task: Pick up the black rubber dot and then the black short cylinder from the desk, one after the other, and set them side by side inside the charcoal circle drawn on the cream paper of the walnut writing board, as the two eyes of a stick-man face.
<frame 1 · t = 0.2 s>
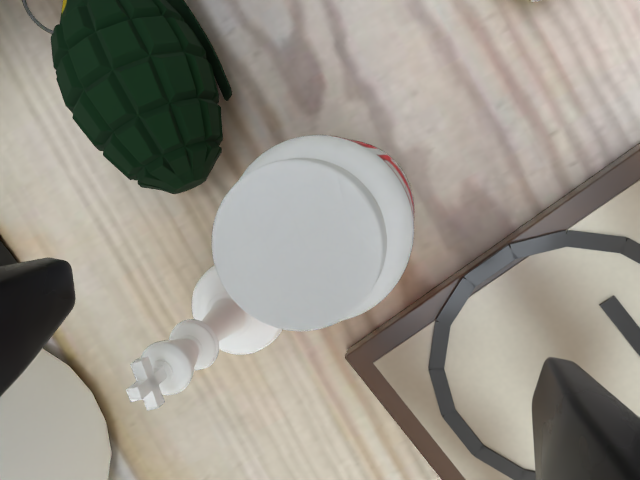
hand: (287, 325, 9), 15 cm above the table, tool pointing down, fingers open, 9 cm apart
grenade: (196, 188, 22), point 3 cm above the table
can 2: (24, 432, 30), on the table
pill bottle: (349, 206, 24), on the table
board: (562, 356, 23), on the table
chess piece: (242, 304, 26), on the table
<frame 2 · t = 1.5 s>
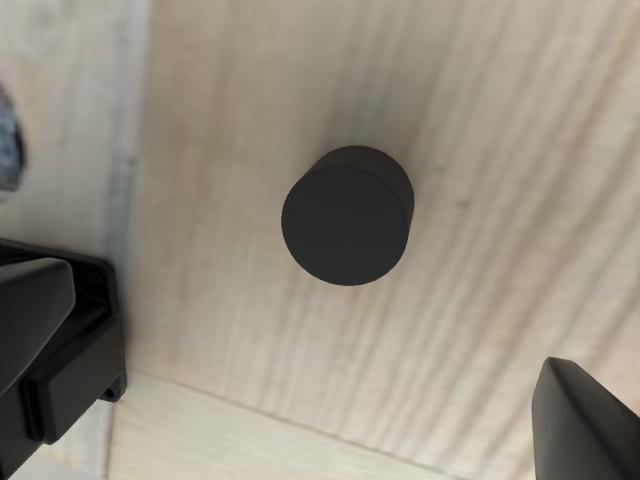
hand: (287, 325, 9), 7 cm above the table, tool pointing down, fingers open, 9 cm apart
dot 1: (357, 200, 16), on the table
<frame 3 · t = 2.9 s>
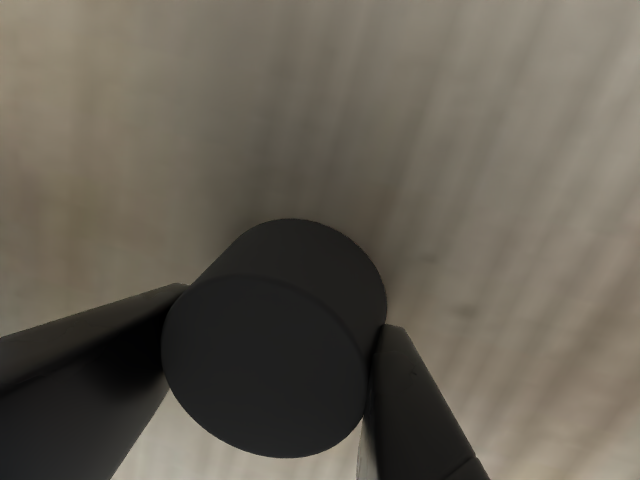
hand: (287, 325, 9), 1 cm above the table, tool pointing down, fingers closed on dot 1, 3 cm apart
dot 1: (300, 298, 10), on the table, touching gripper
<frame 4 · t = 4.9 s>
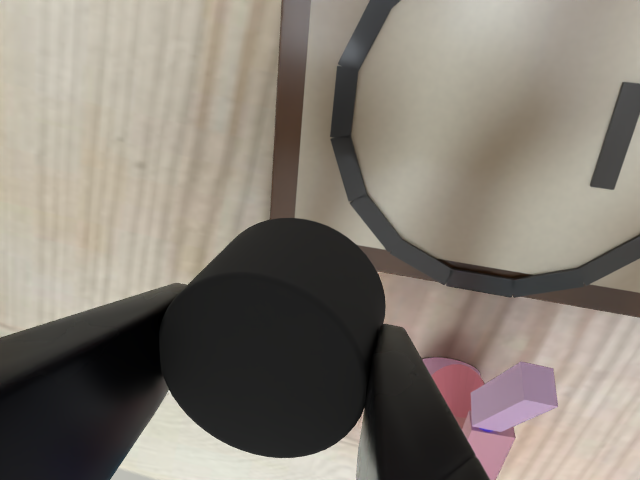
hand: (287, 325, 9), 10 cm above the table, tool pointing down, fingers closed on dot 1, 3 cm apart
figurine: (453, 367, 21), on the table
dot 1: (298, 297, 10), point 9 cm above the table, touching gripper
board: (514, 119, 17), on the table
when the fingers open (2 cm above the table, at t = 7.5 s): dot 1 stays where it is, resting on board.
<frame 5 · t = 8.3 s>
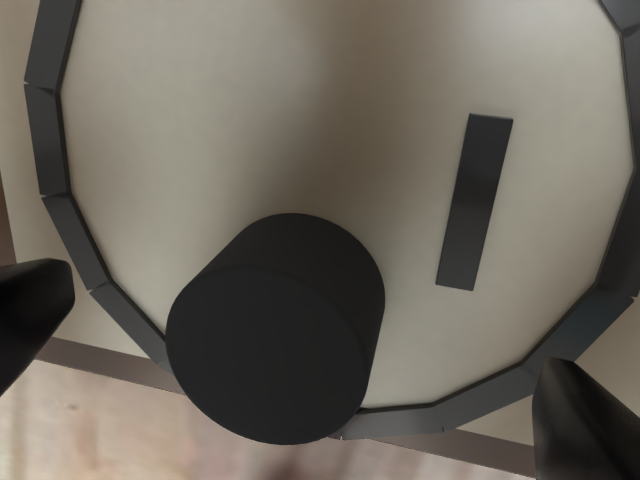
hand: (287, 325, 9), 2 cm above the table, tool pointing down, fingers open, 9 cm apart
dot 1: (301, 291, 10), point 1 cm above the table, touching board
board: (325, 167, 10), on the table
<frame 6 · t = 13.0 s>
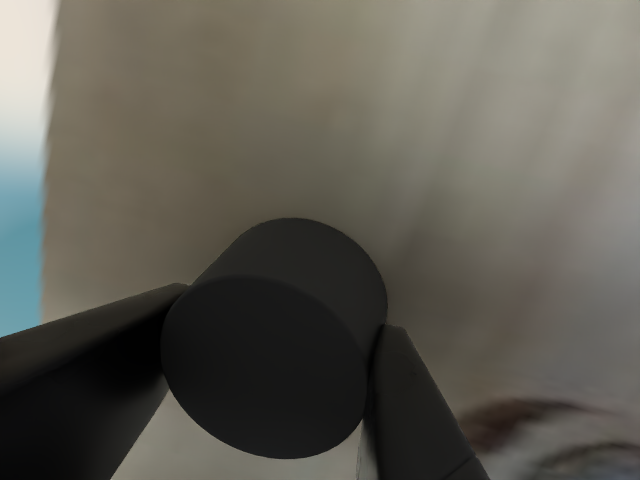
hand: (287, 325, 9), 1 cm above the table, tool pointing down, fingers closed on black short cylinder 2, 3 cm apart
black short cylinder 2: (300, 298, 10), on the table, touching gripper
when the fingers open (2 cm above the table, at t = 18.9 s): black short cylinder 2 stays where it is, resting on board.
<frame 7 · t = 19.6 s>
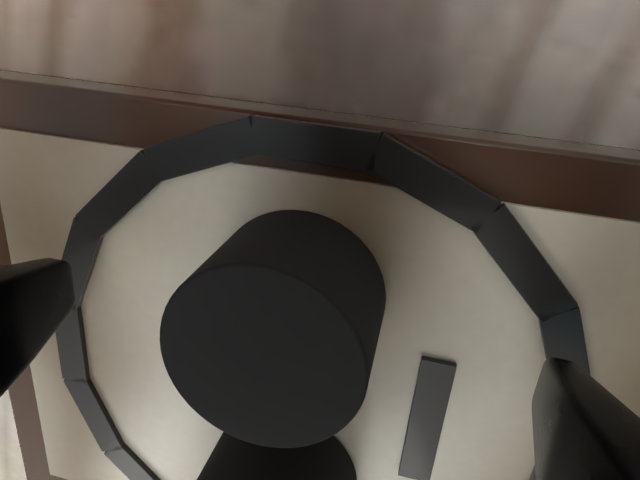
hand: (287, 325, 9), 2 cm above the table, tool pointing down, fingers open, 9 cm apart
dot 1: (286, 467, 12), point 1 cm above the table, touching board
board: (307, 361, 12), on the table
black short cylinder 2: (300, 290, 10), point 1 cm above the table, touching board
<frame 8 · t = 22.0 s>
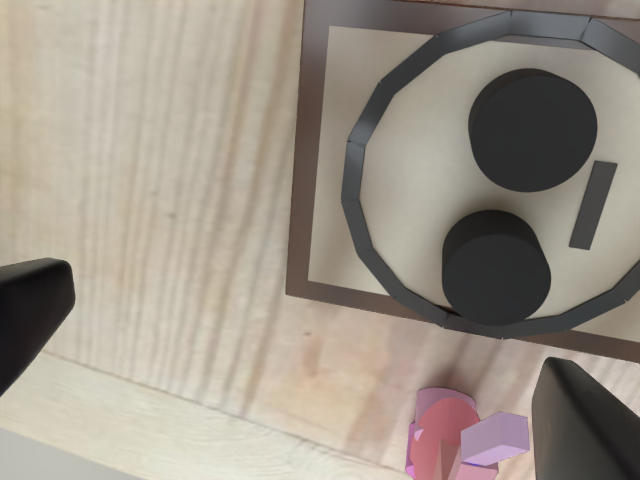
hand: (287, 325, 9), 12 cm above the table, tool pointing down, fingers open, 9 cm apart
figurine: (451, 396, 24), on the table
dot 1: (489, 252, 19), point 1 cm above the table, touching board
board: (502, 185, 19), on the table
black short cylinder 2: (521, 122, 17), point 1 cm above the table, touching board
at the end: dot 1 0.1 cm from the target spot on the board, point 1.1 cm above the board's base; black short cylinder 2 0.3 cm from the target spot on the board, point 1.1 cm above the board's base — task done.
